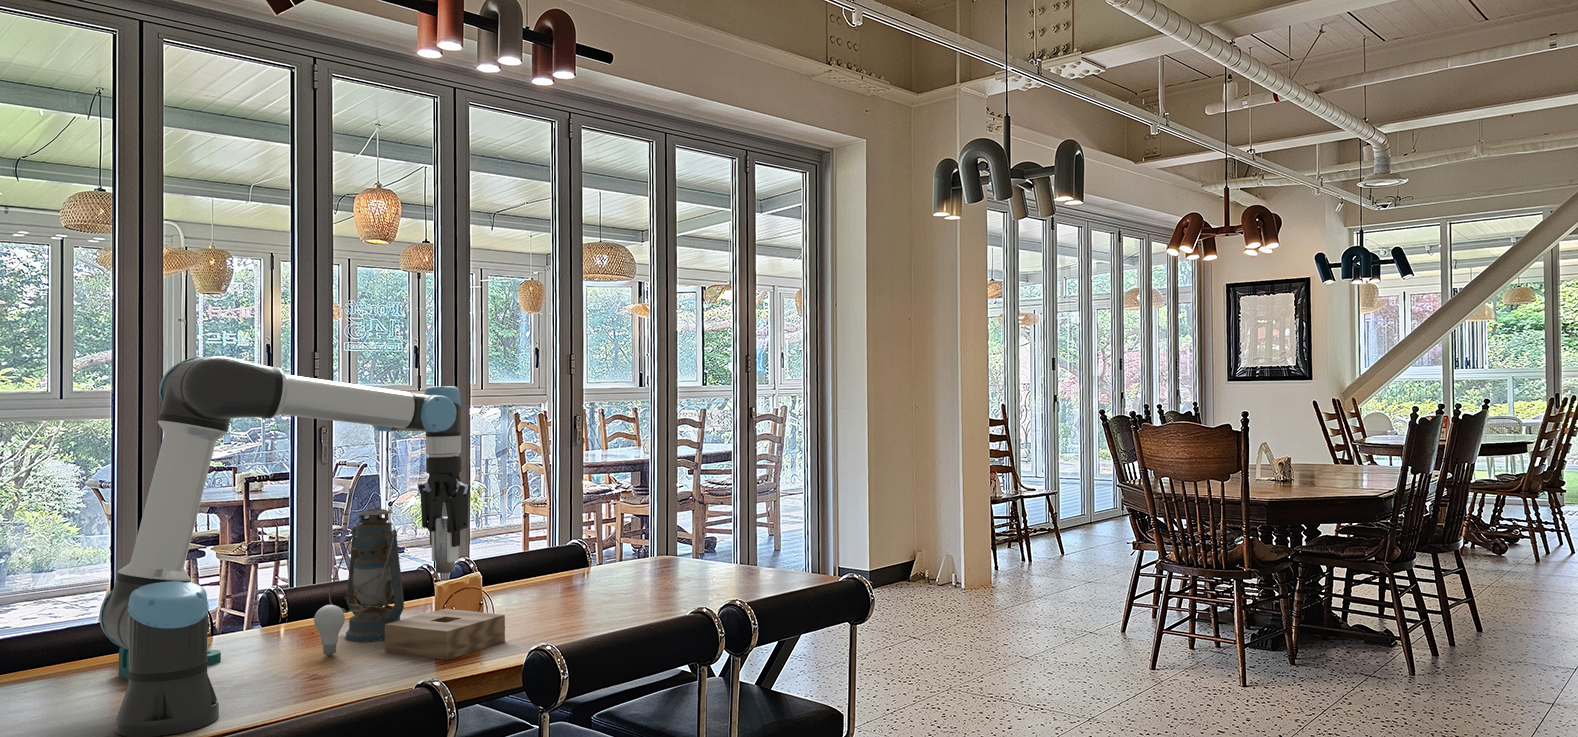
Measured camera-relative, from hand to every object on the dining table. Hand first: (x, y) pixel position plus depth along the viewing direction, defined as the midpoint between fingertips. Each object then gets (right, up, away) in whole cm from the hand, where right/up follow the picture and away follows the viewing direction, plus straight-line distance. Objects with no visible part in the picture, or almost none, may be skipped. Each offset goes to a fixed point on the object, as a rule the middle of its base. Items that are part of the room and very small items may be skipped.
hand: (445, 560), depth 231 cm
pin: (0, -2, 0) cm, 2 cm away
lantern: (-21, -20, +12) cm, 32 cm away
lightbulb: (-23, -20, -7) cm, 31 cm away
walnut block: (0, -19, +1) cm, 19 cm away
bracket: (-51, -20, -16) cm, 57 cm away
